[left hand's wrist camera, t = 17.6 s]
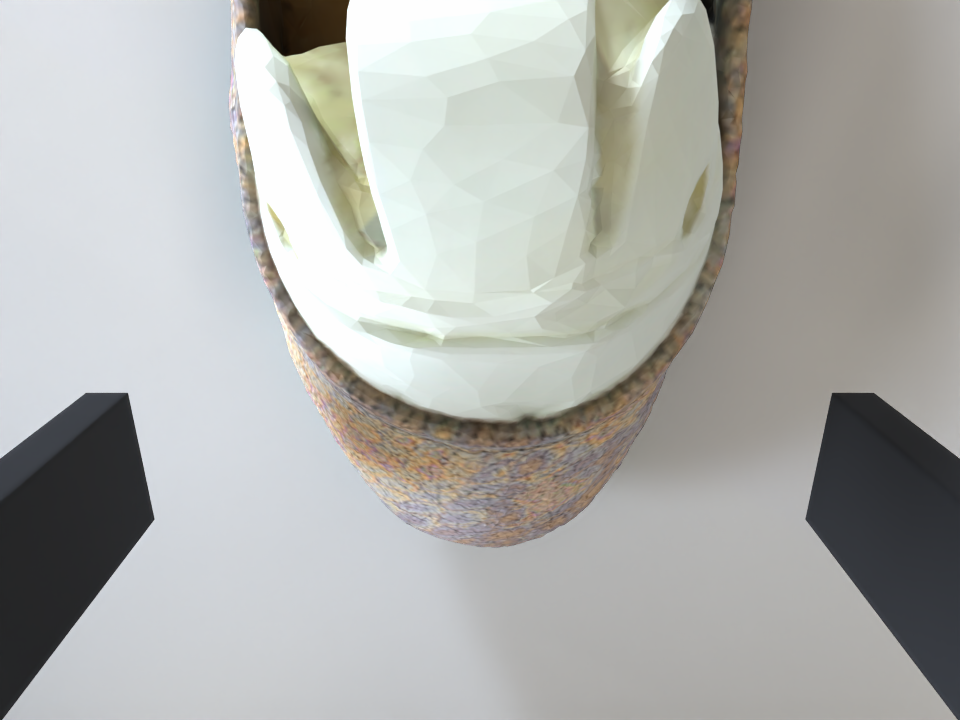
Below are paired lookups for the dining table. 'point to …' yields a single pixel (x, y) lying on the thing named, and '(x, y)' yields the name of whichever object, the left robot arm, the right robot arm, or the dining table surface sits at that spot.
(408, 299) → the speckled felt slipper
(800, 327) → the dining table surface
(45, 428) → the left robot arm
